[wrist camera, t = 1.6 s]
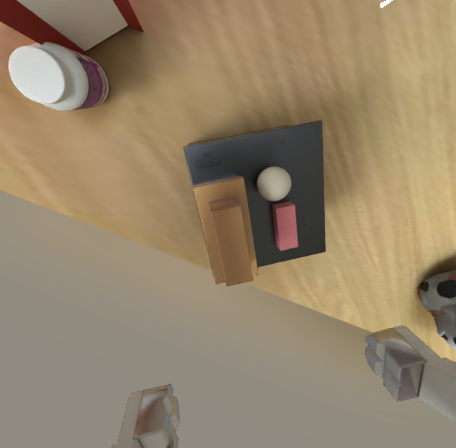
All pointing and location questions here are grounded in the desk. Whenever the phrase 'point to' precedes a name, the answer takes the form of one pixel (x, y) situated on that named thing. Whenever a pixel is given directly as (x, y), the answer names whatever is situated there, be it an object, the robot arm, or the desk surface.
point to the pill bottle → (58, 77)
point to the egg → (273, 183)
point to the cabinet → (251, 169)
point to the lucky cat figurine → (441, 303)
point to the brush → (227, 228)
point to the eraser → (285, 225)
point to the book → (68, 20)
